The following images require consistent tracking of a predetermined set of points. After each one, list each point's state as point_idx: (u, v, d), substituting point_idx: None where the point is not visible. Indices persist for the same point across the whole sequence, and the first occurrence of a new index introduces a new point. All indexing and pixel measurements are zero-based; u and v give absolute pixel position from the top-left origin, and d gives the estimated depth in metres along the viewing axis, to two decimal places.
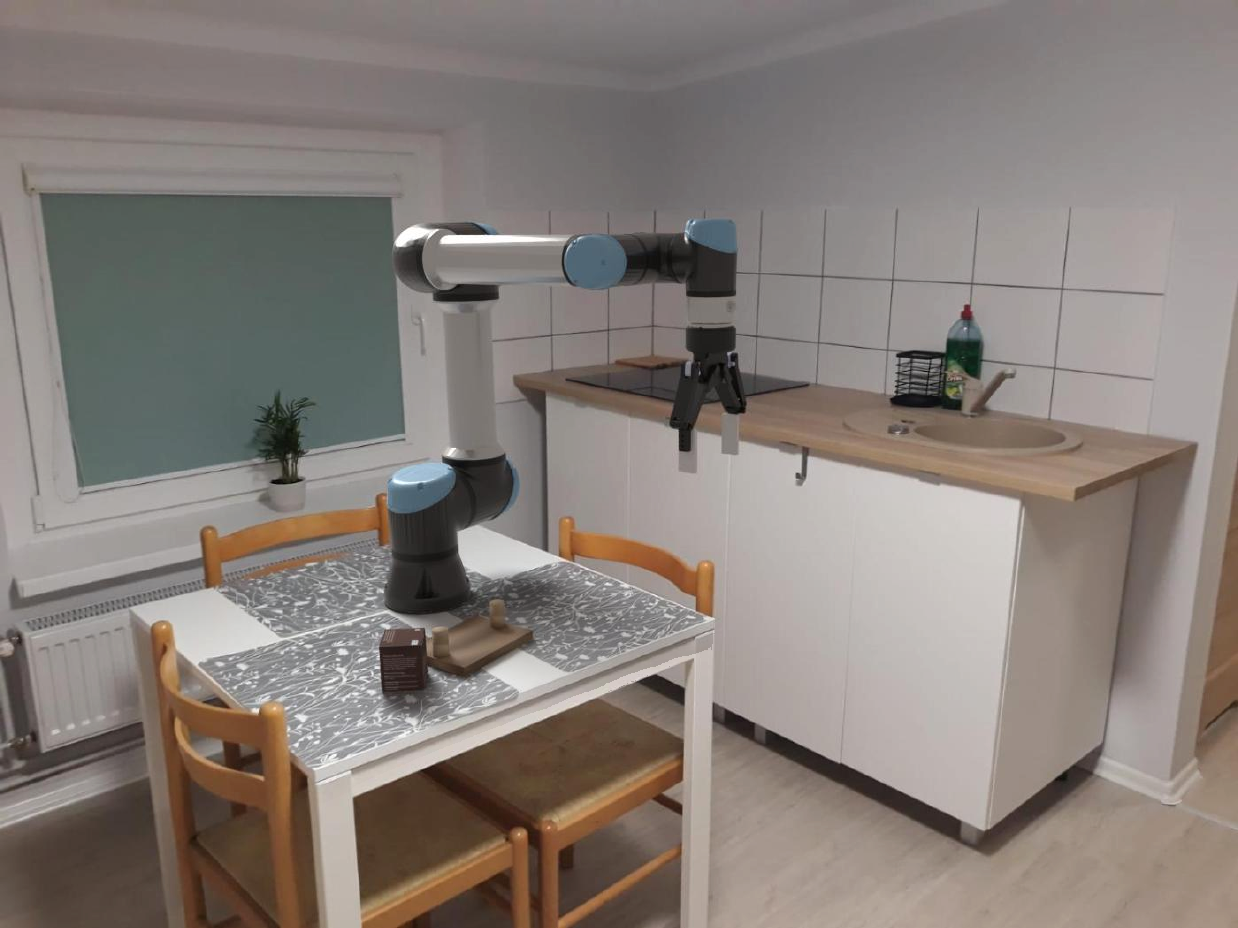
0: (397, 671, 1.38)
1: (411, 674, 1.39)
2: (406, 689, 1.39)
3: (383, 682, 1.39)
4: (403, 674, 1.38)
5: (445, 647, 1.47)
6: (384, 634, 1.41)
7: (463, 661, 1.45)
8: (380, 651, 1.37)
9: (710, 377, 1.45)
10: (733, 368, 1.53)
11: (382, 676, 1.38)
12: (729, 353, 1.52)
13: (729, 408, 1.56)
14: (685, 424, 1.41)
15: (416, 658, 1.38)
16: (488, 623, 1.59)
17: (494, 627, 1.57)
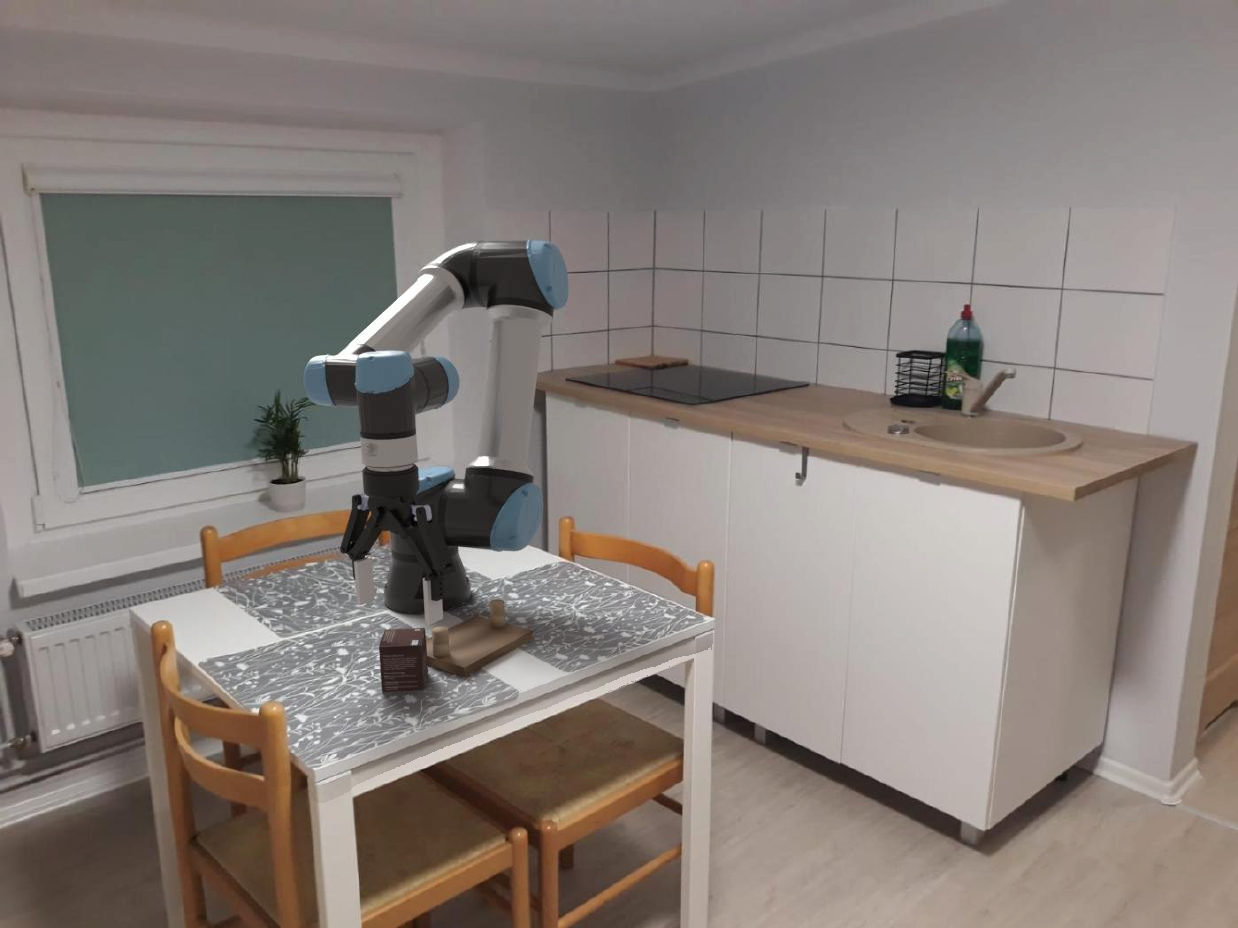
0: (397, 671, 1.38)
1: (411, 674, 1.39)
2: (406, 689, 1.39)
3: (383, 682, 1.39)
4: (403, 674, 1.38)
5: (445, 647, 1.47)
6: (384, 634, 1.41)
7: (463, 661, 1.45)
8: (380, 651, 1.37)
9: (369, 517, 1.36)
10: (419, 524, 1.32)
11: (382, 676, 1.38)
12: (421, 506, 1.32)
13: None
14: (341, 549, 1.41)
15: (416, 658, 1.38)
16: (488, 623, 1.59)
17: (494, 627, 1.57)
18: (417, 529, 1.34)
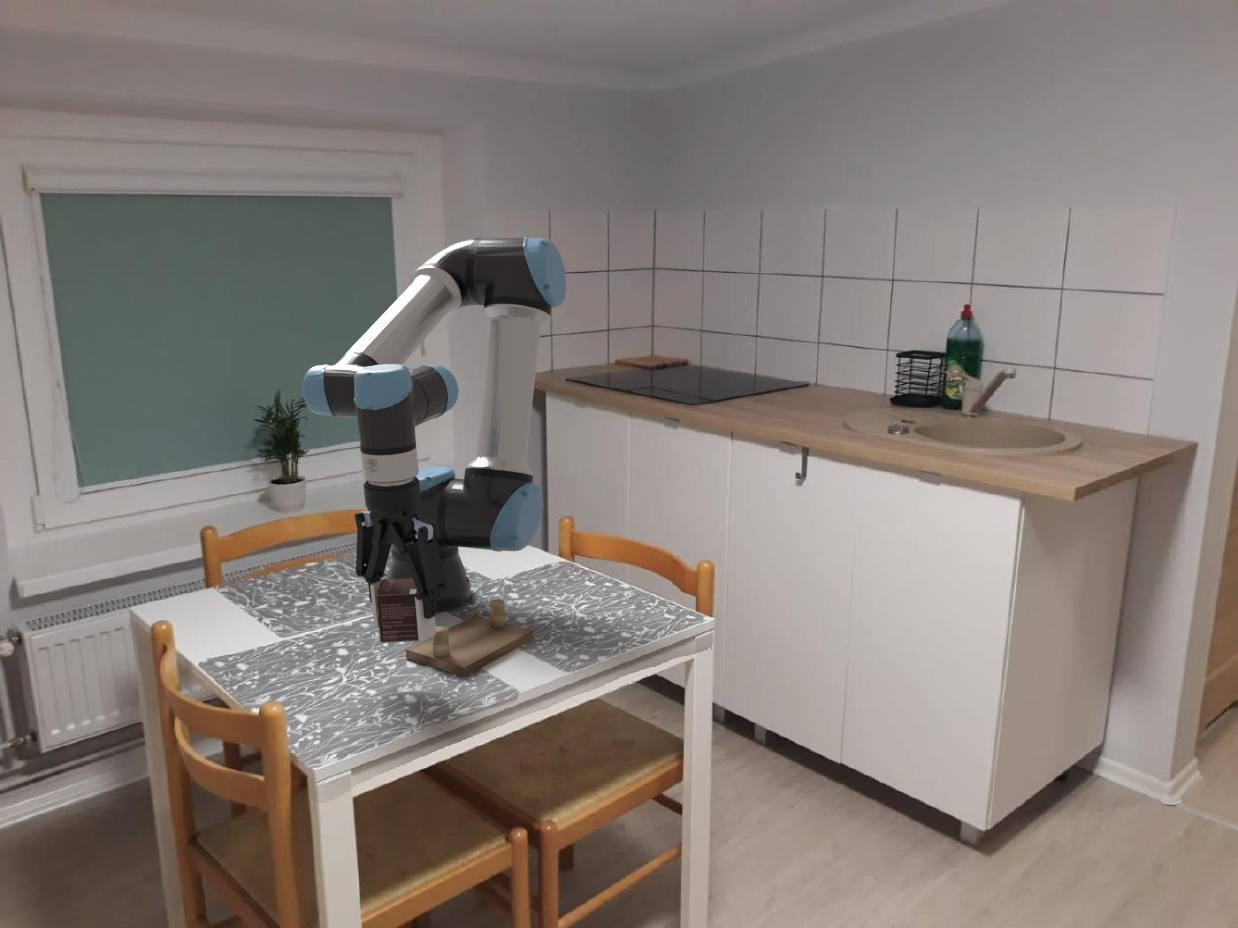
0: (395, 620, 1.37)
1: (410, 623, 1.37)
2: (405, 639, 1.38)
3: (381, 631, 1.37)
4: (401, 623, 1.37)
5: (445, 647, 1.47)
6: (382, 584, 1.40)
7: (463, 661, 1.45)
8: (378, 600, 1.36)
9: (374, 532, 1.37)
10: None
11: (380, 625, 1.37)
12: (424, 525, 1.33)
13: None
14: (357, 572, 1.42)
15: (415, 606, 1.37)
16: (488, 623, 1.59)
17: (494, 627, 1.57)
18: (416, 545, 1.36)
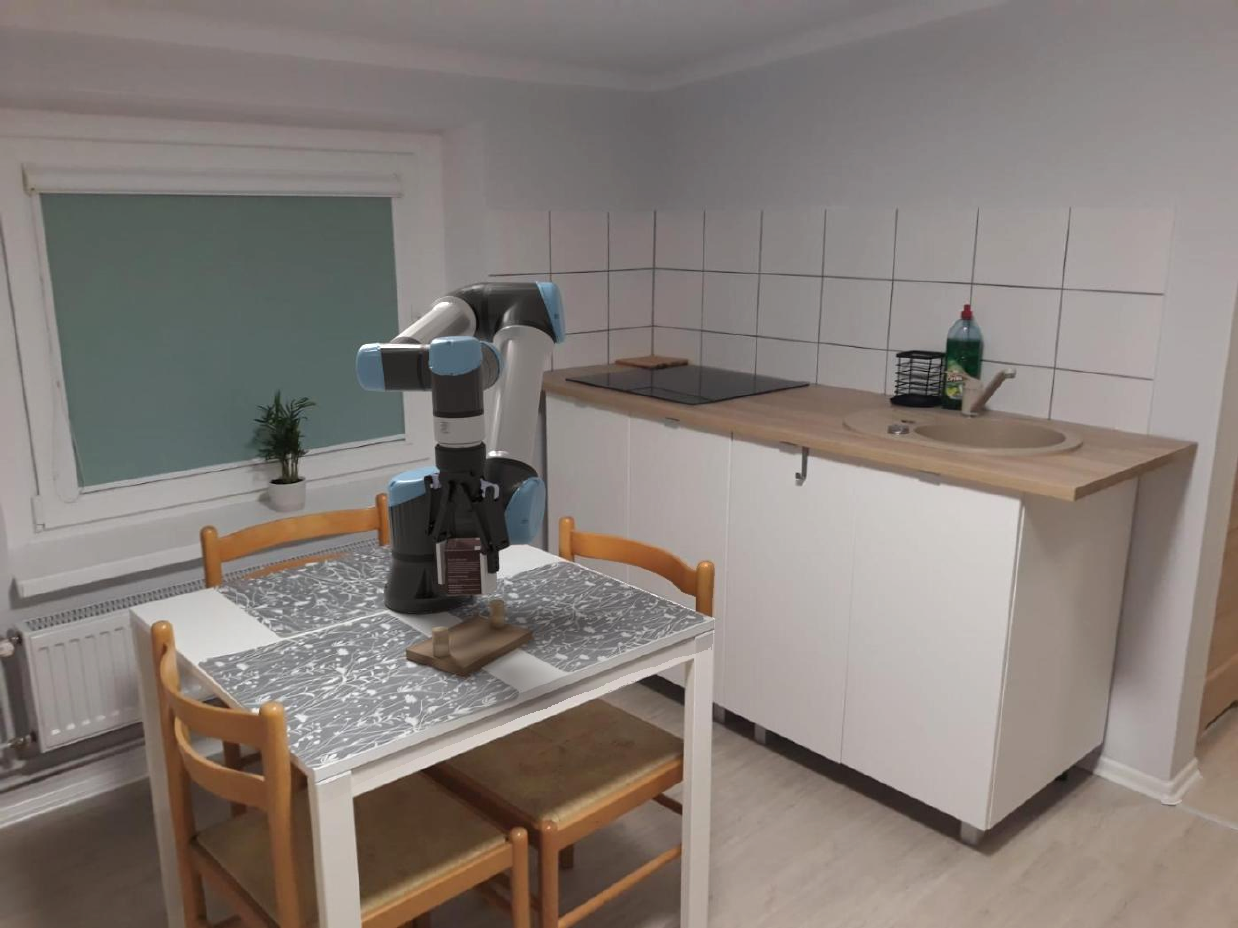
0: (460, 574, 1.47)
1: (474, 578, 1.47)
2: (469, 593, 1.48)
3: (447, 585, 1.47)
4: (466, 577, 1.47)
5: (445, 647, 1.47)
6: (447, 542, 1.50)
7: (463, 661, 1.45)
8: (445, 555, 1.46)
9: (442, 493, 1.47)
10: (485, 500, 1.44)
11: (446, 579, 1.47)
12: (491, 485, 1.43)
13: None
14: (423, 532, 1.52)
15: (479, 562, 1.47)
16: (488, 623, 1.59)
17: (494, 627, 1.57)
18: (481, 505, 1.46)
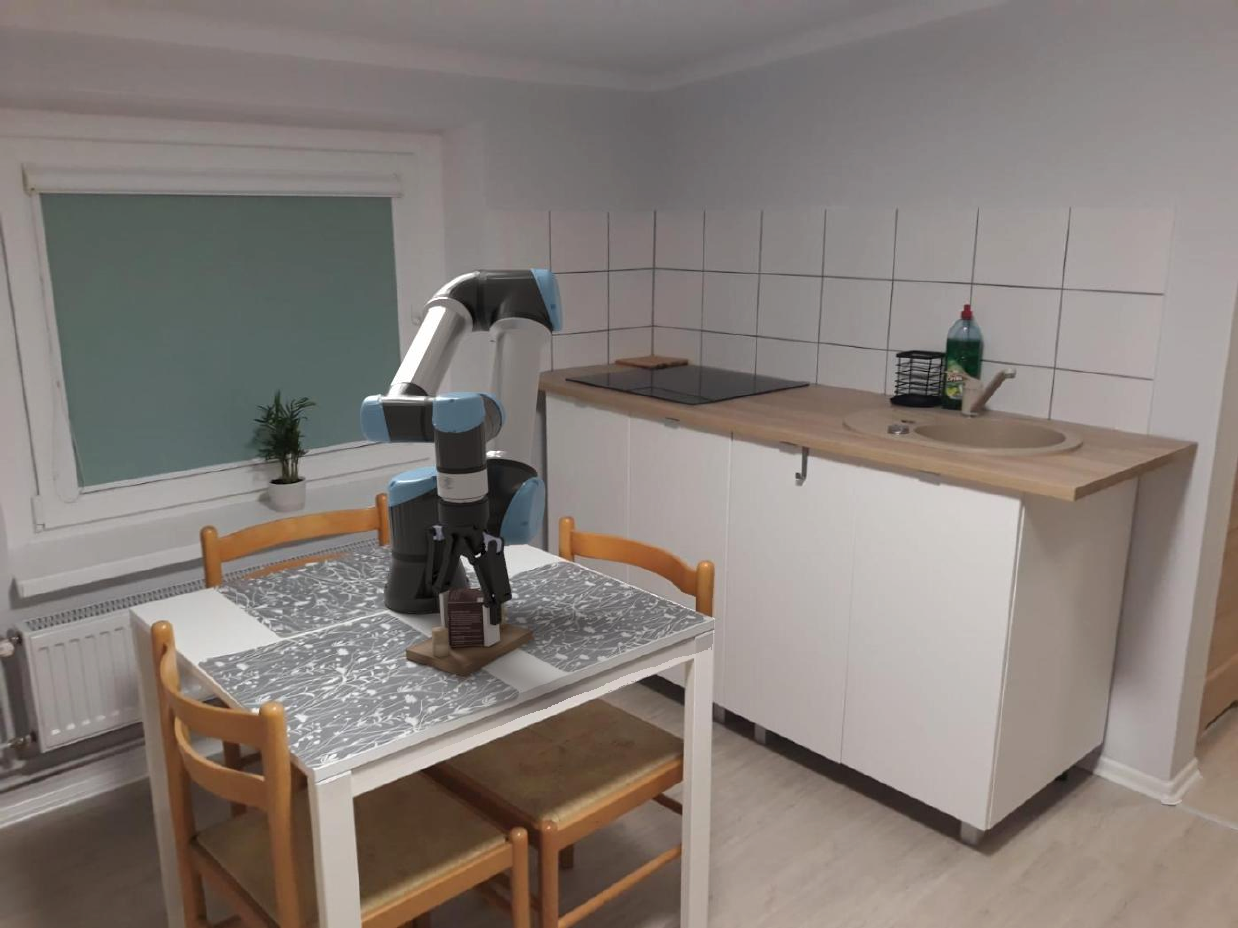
0: (463, 626, 1.49)
1: (477, 629, 1.49)
2: (471, 644, 1.50)
3: (450, 636, 1.49)
4: (469, 629, 1.49)
5: (445, 647, 1.47)
6: (450, 593, 1.52)
7: (463, 661, 1.45)
8: (448, 607, 1.48)
9: (445, 545, 1.49)
10: None
11: (449, 631, 1.49)
12: (493, 539, 1.45)
13: None
14: (427, 583, 1.54)
15: (482, 614, 1.49)
16: None
17: None
18: (484, 558, 1.48)
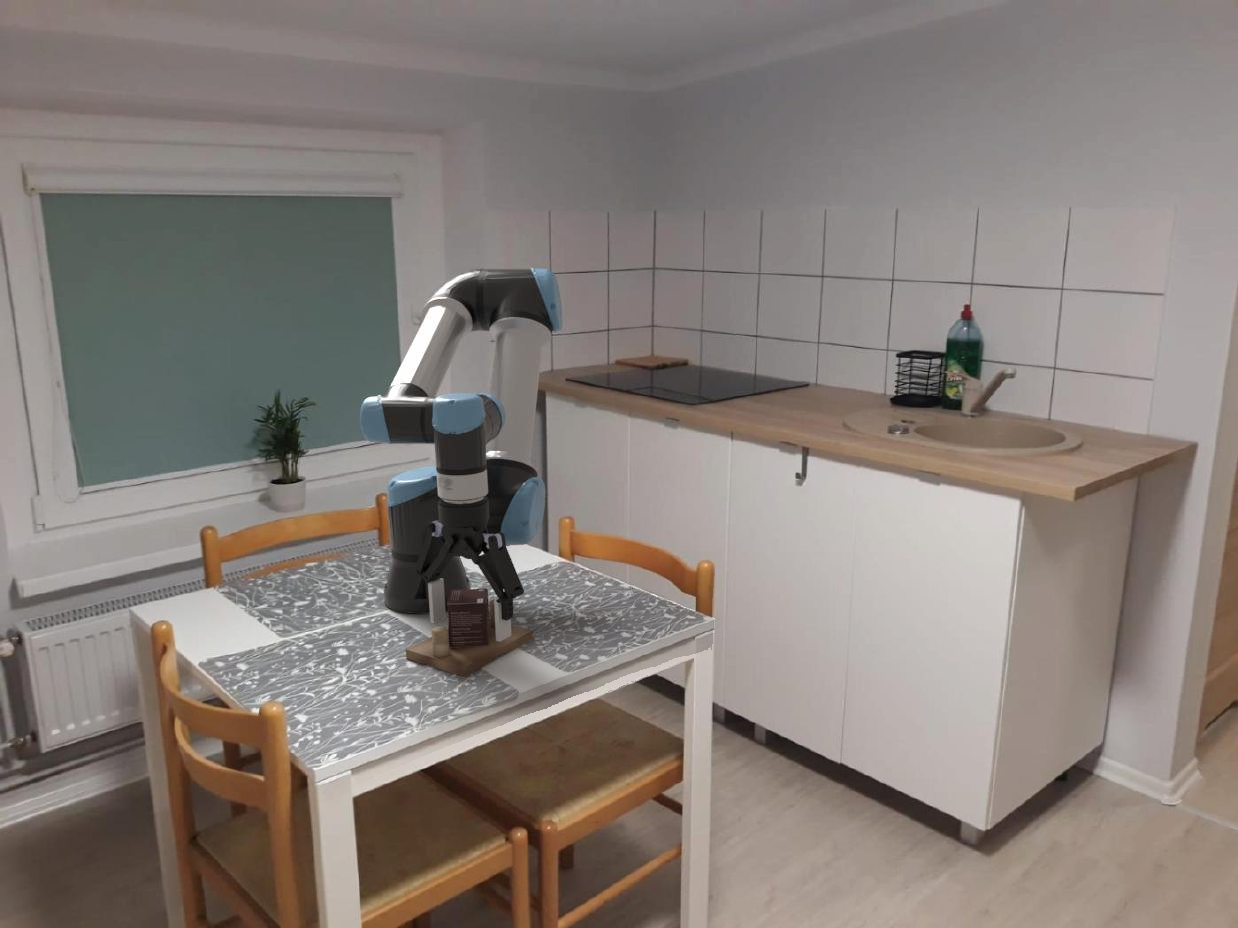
0: (463, 627, 1.49)
1: (477, 630, 1.49)
2: (472, 645, 1.50)
3: (450, 637, 1.49)
4: (469, 630, 1.49)
5: (445, 647, 1.47)
6: (450, 594, 1.52)
7: (463, 661, 1.45)
8: (448, 608, 1.48)
9: (444, 543, 1.49)
10: (491, 551, 1.45)
11: (450, 632, 1.49)
12: (492, 535, 1.45)
13: None
14: (415, 571, 1.55)
15: (482, 615, 1.49)
16: None
17: (494, 627, 1.57)
18: (488, 555, 1.48)
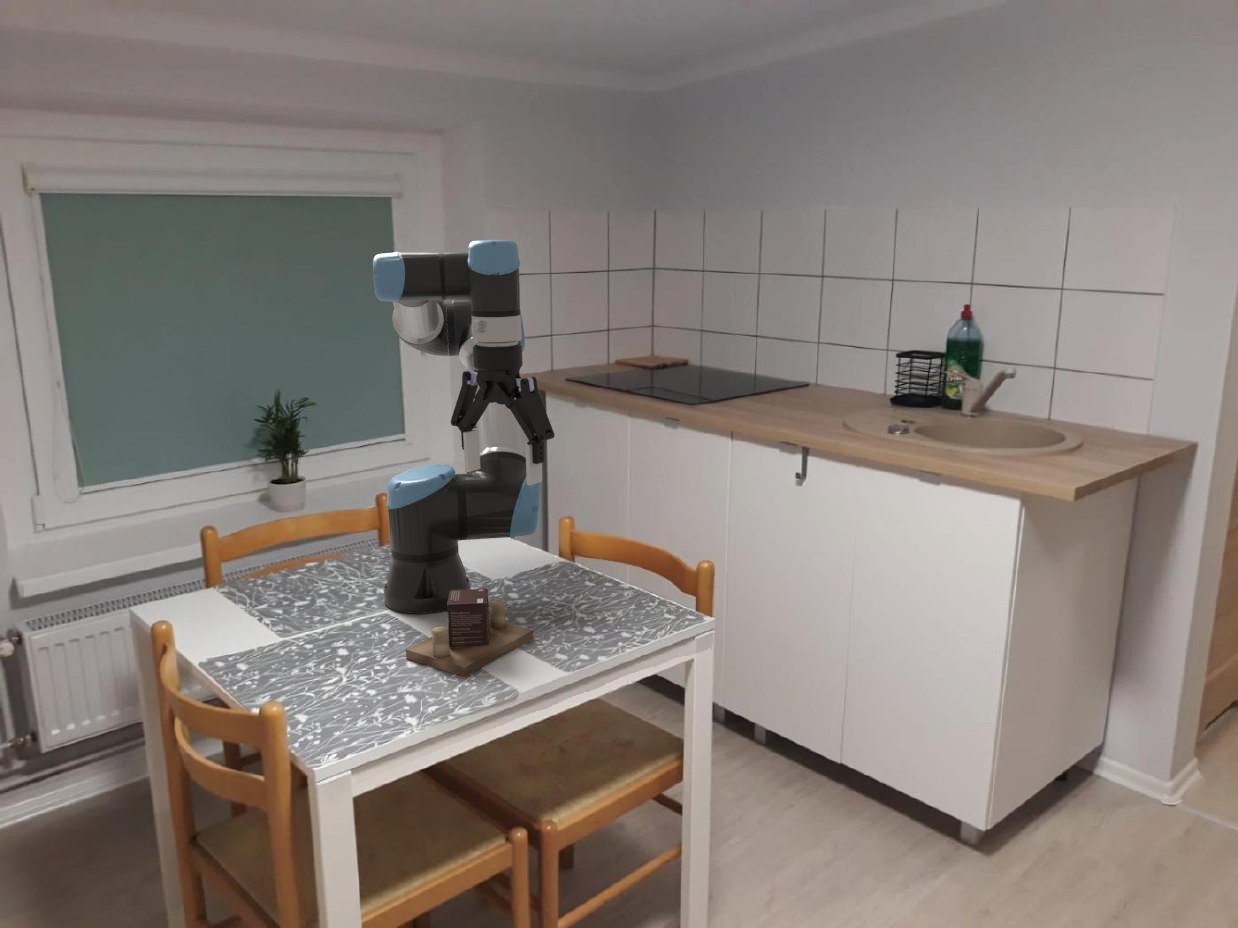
0: (463, 627, 1.49)
1: (477, 630, 1.49)
2: (472, 645, 1.50)
3: (450, 637, 1.49)
4: (469, 630, 1.49)
5: (445, 647, 1.47)
6: (450, 594, 1.52)
7: (463, 661, 1.45)
8: (448, 608, 1.48)
9: (478, 390, 1.53)
10: (523, 394, 1.48)
11: (450, 632, 1.49)
12: None
13: None
14: (451, 422, 1.59)
15: (481, 615, 1.49)
16: None
17: (494, 627, 1.57)
18: (520, 401, 1.51)
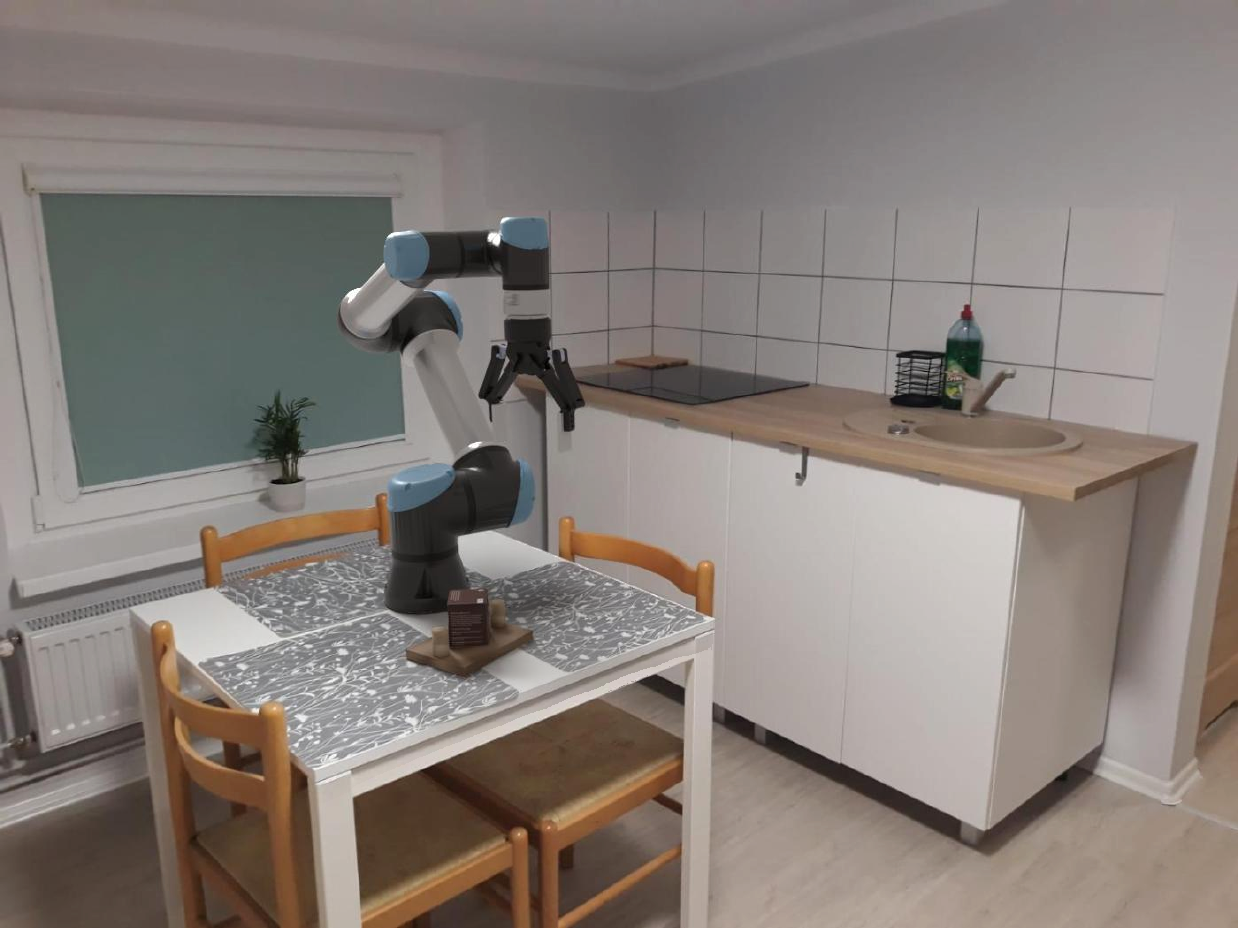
0: (463, 627, 1.49)
1: (477, 630, 1.49)
2: (472, 645, 1.50)
3: (450, 637, 1.49)
4: (469, 630, 1.49)
5: (445, 647, 1.47)
6: (450, 594, 1.52)
7: (463, 661, 1.45)
8: (448, 608, 1.48)
9: (508, 362, 1.58)
10: (554, 365, 1.54)
11: (450, 632, 1.49)
12: None
13: None
14: (479, 395, 1.64)
15: (481, 615, 1.49)
16: None
17: (494, 627, 1.57)
18: (550, 372, 1.57)
